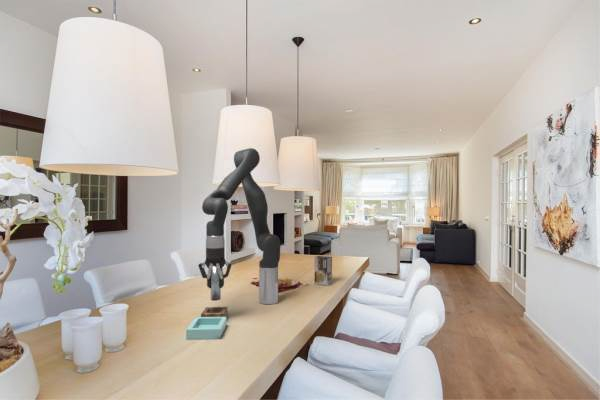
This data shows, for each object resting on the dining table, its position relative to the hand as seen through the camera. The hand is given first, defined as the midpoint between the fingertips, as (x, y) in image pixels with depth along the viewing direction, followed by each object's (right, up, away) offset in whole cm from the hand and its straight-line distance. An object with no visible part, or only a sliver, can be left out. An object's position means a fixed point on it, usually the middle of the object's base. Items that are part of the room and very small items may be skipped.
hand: (215, 287), depth 140 cm
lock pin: (0, -5, 0) cm, 5 cm away
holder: (0, -13, 0) cm, 13 cm away
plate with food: (+23, -15, +61) cm, 67 cm away
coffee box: (+49, -14, +63) cm, 81 cm away
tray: (0, -13, -13) cm, 19 cm away
